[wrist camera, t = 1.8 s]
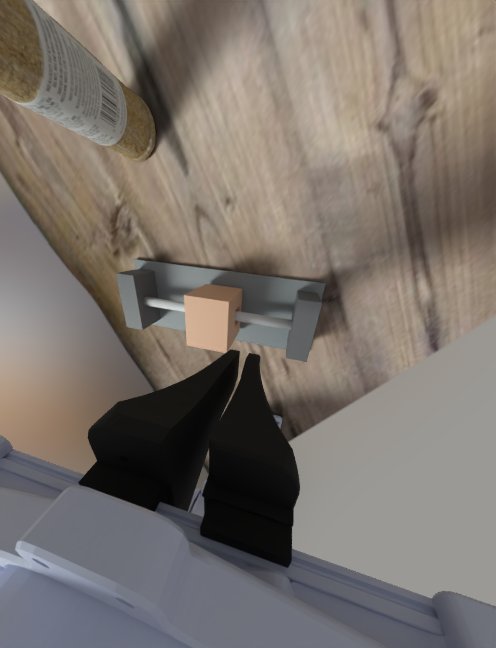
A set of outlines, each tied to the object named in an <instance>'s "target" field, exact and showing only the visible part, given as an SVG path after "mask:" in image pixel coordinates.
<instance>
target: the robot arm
mask: <svg viewBox="0 0 496 648" xmlns="http://www.w3.org/2000/svg"><path fill="white" fill-rule="evenodd" d="M239 355H240V351H236V350H229V351H228V352H226V353H225V354H224V355H222V356H221V357H220V358H218V359H217V360H216V361H214V362H213V363H212V364H210V365H209V366H207V367H206V368H204V369H202V370H201V371H199V372H198V373H196V374H194V375H192V376H191V377H189V378H187V379H185V380H183V381H180V382H178V383H176V384H173V385H171V386H169V387H166V388H164V389H161V390H158V391H155V392H152V393H149V394H146V395H143V396H140V397H135V398H132V399H128V400H124V401H120V402H118V403H116V404H115V405H114V406H113V407H112V408H111V409H110V410H109V411H108V412H107V413H105V414H104V415H103V416H102V417H101V418H100V419H99V420H98V421H97V422H96V423H95V424H94V425H93V426H92V427H91V428H90V429H89V432H88V439H89V443H90V445H91V447H92V450H93V452H94V454H95V457H96V459H97V462H96V463H95V464H94V465H93V466H92V468H91V469H90V470H89V471H88V472H87V473H86V474H85V475H84V474H81V473H78V472H75V471H72V470H70V469H67V468H64V467H61V466H58V465H56V464H53V463H50V462H47V461H44V460H42V459H38V458H36V457H33V456H30V455H28V454H25V453H22V452H19V451H16V450H14V449H13V447H12V445H11V444H10V442H9V441H8V440H7V439H6V438H4V437H3V436H1V435H0V648H496V606H493V605H490V604H487V603H484V602H481V601H478V600H475V599H472V598H470V597H467V596H464V595H461V594H458V593H454V592H450V591H442V592H438V593H437V594H435V595H434V596H433V598H432V599H431V598H428V597H425V596H423V595H420V594H417V593H414V592H411V591H409V590H406V589H403V588H400V587H397V586H395V585H392V584H389V583H386V582H383V581H381V580H378V579H375V578H372V577H370V576H367V575H364V574H361V573H358V572H356V571H353V570H350V569H347V568H344V567H342V566H339V565H336V564H333V563H330V562H328V561H325V560H322V559H319V558H316V557H313V556H310V555H308V554H305V553H302V552H299V551H297V550H294V549H292V526H293V508H294V506H295V504H296V501H297V498H298V496H299V491H300V483H299V475H298V470H297V465H296V461H295V457H294V453H293V449H292V448H291V446H290V445H289V443H288V441H287V440H286V438H285V436H284V435H283V433H282V431H281V429H280V428H281V424H282V417H280V416H277V415H273V413H272V411H271V409H270V406H269V404H268V401H267V398H266V395H265V392H264V389H263V385H262V380H261V375H260V366H259V363H260V356H259V355H256V354H251V353H249V354H248V356H247V358H246V361H245V364H244V368H243V371H242V375H241V379H240V382H239V384H238V386H237V389H236V391H235V393H234V395H233V397H232V399H231V401H230V403H229V405H228V407H227V408H226V410H225V412H224V414H223V415H222V413H223V411H224V409H225V407H226V405H227V403H228V401H229V399H230V396H231V394H232V392H233V390H234V387H235V384H236V380H237V377H238V367H239ZM221 416H222V417H221ZM220 418H221V419H220ZM208 449H209V475H208V478H207V479H206V480H205V482H204V484H203V487H202V490H201V489H196V490H195V488H196V485H197V481H198V479H199V476H200V472H201V469H202V467H203V463H204V461H205V458H206V455H207V452H208Z"/></svg>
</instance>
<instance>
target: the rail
mask: <svg viewBox="0 0 496 648" xmlns="http://www.w3.org/2000/svg"><path fill="white" fill-rule="evenodd" d="M134 263H135V269H136V270H131V271H125V272H120V273H116V277H117V282H118V287H119V291H120V296H121V301H122V305H123V310H124V315H125V320H126V324H127V327H131V328H136V329H141V330H143V329H145V328H146V327H148V326H150V325H152V324H153V325H158V326H163V327H169V328H174V329H179V330H184V331H186V322H185V306H184V295H185V294H187V293H189V292H191V291H193V290H195V289H197V288H199V287H201V286H203V285H205V284H212V285H219V286H227V287H234V288H241V289H243V291H242V304H241V312H240V311H235V321H240V331H239V333H238V335H237V336H236V338H235V340H238V341H243V342H248V343H254V344H259V345H264V346H270V347H275V348H280V349H286V358H289V359H295V360H300V361H305V362H307V358H308V355H309V351H310V347H311V344H312V340H313V336H314V332H315V329H316V325H317V321H318V317H319V314H320V310H321V306H322V301H321V300H322V296H323V292H324V288H325V285H326V284H325V283H321V282H313V281H305V280H297V279H290V278H282V277H274V276H266V275H258V274H250V273H242V272H234V271H226V270H218V269H211V268H203V267H195V266H187V265H179V264H171V263H163V262H155V261H147V260H140V259H134Z"/></svg>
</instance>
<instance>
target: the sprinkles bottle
mask: <svg viewBox="0 0 496 648" xmlns="http://www.w3.org/2000/svg"><path fill="white" fill-rule="evenodd" d="M0 93H1V94H3V95H4V96H6V97H7V98H9V99H10V100H12V101H14V102H16V103H18V104H20V105H22V106H24V107H26V108H28V109H30V110H32V111H34V112H36V113H38V114H40V115H42V116H44V117H46V118H48V119H50V120H52V121H55V122H57V123H59V124H61V125H63V126H65V127H67V128H69V129H71V130H73V131H75V132H76V133H78V134H80V135H82V136H84V137H86V138H88V139H90V140H92V141H94V142H96V143H98V144H101V145H104V146H106V147H108V148H110V149H112V150H114V151H116V152H119V153H121V154H122V155H123V156H124V157H126V158H128V159H129V160H131V161H135V162H139V161H143V160H145V159H146V158H147V157H148V156H150V154H151V152H152V151H153V149H154V145H155V136H156V131H155V123H154V119H153V116H152V114H151V112H150V110H149V108H148V106H147V105H146V103H145V102H144V101H143V99H142V98H141V97H139V96H138V95H137V94H135V93H133V92H132V91H130V90H129V89H128V88H127V87H126V86H125V85H124V84H123V83H122V82H121V81H119V80H118V79H117V78H116V77H115V76H114V75H113V74H112V73H111V72H110V71H109V70H107V69H106V68H105V67H104V66H103V65H102V63H101V62H100V61H99V60H98V59H97V58H96V57H94V56H93V55H92V54H91V53H90V52H89V51H88V50H87V49H86V48H85V47H84V46H83V45H82V44H81V43H79V42H78V41H77V40H76V39H75V38H74V37H73V36H72V35H71V34H70V33H69V32H67V31H66V30H65V29H64V28H63V27H62V26H61V25H60V24H59V23H58V22H57V21H56V20H54V19H53V18H52V17H51V16H49V15H48V14H47V13H46V12H45V11H44V10H43V9H42V8H40V7H39V6H38V5H37V4H36V3H35V2H34V1H33V0H0Z"/></svg>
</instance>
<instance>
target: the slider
mask: <svg viewBox="0 0 496 648" xmlns="http://www.w3.org/2000/svg"><path fill="white" fill-rule="evenodd" d="M242 291H243V289H241V288H234V287H227V286H219V285H212V284H205V285H203V286H201V287H199V288H197V289H195V290H193V291H191V292H189V293H187V294H185V295H184V306H185V322H186V338H187V345H188V346H193V347H198V348H203V349H208V350H213V351H218V352H223V353H226V352H228V350H229V348H230V347H231V345H232V343H233V341H234V340H235V338H236V336H237V335H238V333H239V331H240V321H235V311H240V312H241V304H242Z"/></svg>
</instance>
